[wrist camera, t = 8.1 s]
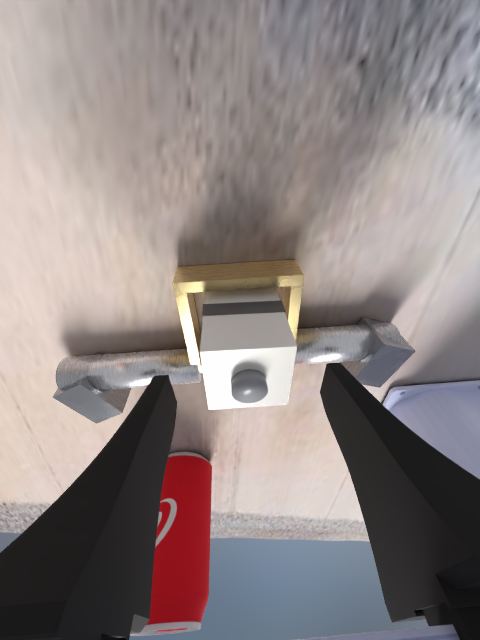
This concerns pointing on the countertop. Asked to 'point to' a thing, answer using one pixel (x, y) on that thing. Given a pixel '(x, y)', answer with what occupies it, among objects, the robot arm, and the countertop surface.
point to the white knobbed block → (246, 349)
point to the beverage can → (181, 547)
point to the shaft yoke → (185, 364)
